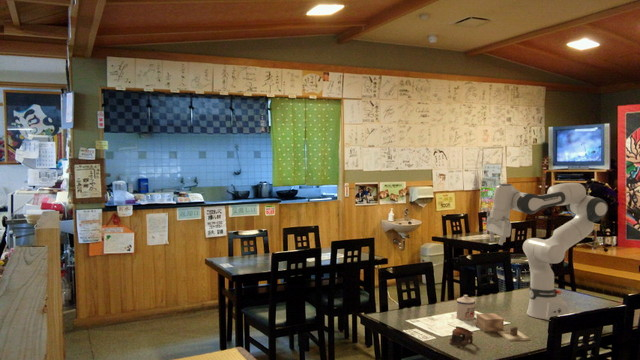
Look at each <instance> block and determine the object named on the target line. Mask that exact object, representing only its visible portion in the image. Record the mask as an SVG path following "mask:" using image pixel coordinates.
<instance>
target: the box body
mask: <svg viewBox="0 0 640 360" xmlns="http://www.w3.org/2000/svg"><path fill="white" fill-rule="evenodd" d="M475 323H476V324H475V327H476V328H478V329H479V330H480V331H482V332H483V333H484V334H486V333H499V331H505V330H504V328H505V327H504V326H505V323H504V318H503V317H501V316H500V315H497V314H496V313H494V312H491V313H490V312H489V313H476V322H475Z"/></svg>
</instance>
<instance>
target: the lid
mask: <svg viewBox="0 0 640 360" xmlns="http://www.w3.org/2000/svg"><path fill="white" fill-rule="evenodd" d="M509 329H510V330H504V331H499V332H497V333H498V334H499V335H500V336H501V337H502V338H504V339H505V340H507V341H508V342H510V341H511V342H513V341H516V342H517V341H530V340H531V337H529V336H527V335H526V334H524V333H523V332H521V331H519V329H518V327H517V326H514V325H513V326H512V325H511V326H510V328H509Z"/></svg>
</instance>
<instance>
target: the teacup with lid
mask: <svg viewBox="0 0 640 360" xmlns="http://www.w3.org/2000/svg"><path fill="white" fill-rule="evenodd" d="M476 308H477V305H476V301H475V300H474V299H473V298H471V297H469V295H468V294H463V296H461V297H458V298H457V299H456V318H457V319H458V320H461V321H470V320H471V321H474V320H475V312H476ZM471 321H470V322H471Z"/></svg>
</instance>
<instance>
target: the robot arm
mask: <svg viewBox="0 0 640 360" xmlns="http://www.w3.org/2000/svg"><path fill="white" fill-rule="evenodd" d="M586 190H587V189H586V188H585V186H584V185H583V184H581V183H579V182H564V183H563V182H562V183H558V184H555V185H554V184H553V185H551V186H550V187H549V188H548V189H547V193H546V194H539V195H538V194H535V193H528V192H521V191H519V190H518V189H517V188H516V187H514V186H513V184H511V183H498V184H497V185H496V186H495V188H494V192H493V197H492V203H493V204H492V206H491V209H490V210H489V211H487V212H486V224H485V229H486V231H487V232H489V241H490V242H495V239H496V238H495V234H496V235H498V236H499V240H498V243H497V244H498V245H500V246H503V244H504V242H505V239H506V238H509V237H510V236H511V232H512V223H511V220H510V217H511V216H510V215H511V210H513V211H515V212H520V213H524V214H526V215H533V214H536V213H537V212H538V211H540V210H542V209H545V208H550V207H555V206H559V207H561V206H565V207H566V209H567V211H568V212H569V213H570V214H573V215H575V216H574V217H573V218H572V219H570V220H569V221H567V222H565V223H564V224H563V225H560V226H559V227H557V228H556V229H554V230H553V232H552V236H550V237H549V238H546V239H543V238H538V237H530V238H527V239H525V241H524V242H523V244H522V250H523V253H524V254H525V256H526V259H527V263H528V265H529V272H530V286H529V293H528V294H529V301H528V302H529V303H528V306H527V311H526V315H527V316H530V317H531V318H536V319H542V320H546V321H550V320H549V318H550V317H551V316H556V315H563V314H569V313H570V307H569V306H568V303H567V302H565V301H564V299H561V298H560V297H559V296H558V295H561V294H562V290H559V289H556V288H555V273H554V271H553V269H552V268H551V267H552V266H551V264H559V263H561V262H563V260H564V259H565V256H566V251H568V250H569V249H570V248H571V247H573V246H575V245H577V243H579V242H580V241H582V240H584V239H585V238H586V237H588V236H589V235H590V234H591V233H592V232H594V229H595V224H594V223H597V222H600V220H601V219H602V218H604V217H605V216H606V214H607V212H608V210H609V206H608V205H609V204H608V203H607V202H606V201H605V200H604V199H602V198H600V197H594V196H591V195H587V191H586Z"/></svg>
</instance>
